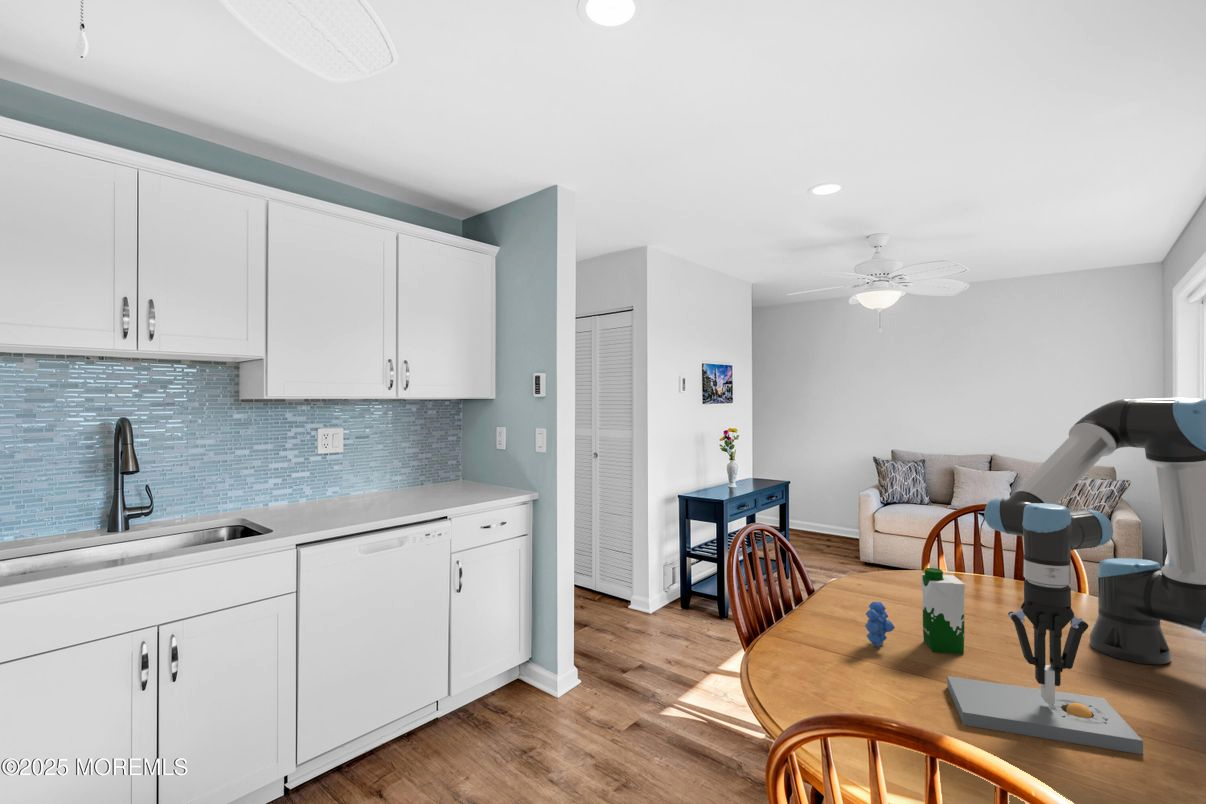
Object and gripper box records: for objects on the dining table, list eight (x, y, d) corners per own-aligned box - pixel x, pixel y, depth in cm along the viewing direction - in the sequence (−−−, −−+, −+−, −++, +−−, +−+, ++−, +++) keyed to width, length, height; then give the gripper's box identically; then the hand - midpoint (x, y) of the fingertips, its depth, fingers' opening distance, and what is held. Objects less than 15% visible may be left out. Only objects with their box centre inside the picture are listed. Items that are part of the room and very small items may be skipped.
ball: (1089, 718, 116) (1084, 698, 116) (1098, 729, 112) (1093, 709, 112) (1065, 719, 117) (1060, 699, 117) (1073, 730, 113) (1069, 709, 113)
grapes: (888, 658, 144) (887, 610, 144) (860, 651, 149) (859, 604, 148) (901, 643, 153) (900, 598, 153) (874, 637, 157) (873, 592, 157)
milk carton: (918, 639, 155) (918, 564, 155) (956, 642, 153) (955, 566, 153) (930, 653, 147) (929, 574, 146) (970, 656, 145) (969, 576, 145)
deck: (1103, 710, 119) (1103, 697, 119) (1143, 754, 105) (1142, 740, 105) (947, 687, 130) (947, 676, 130) (963, 724, 115) (963, 712, 115)
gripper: (1013, 584, 115) (1014, 703, 115) (1095, 591, 110) (1096, 715, 110) (1003, 573, 122) (1004, 686, 122) (1079, 580, 117) (1080, 696, 117)
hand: (1048, 700), depth 116 cm, fingers closed
